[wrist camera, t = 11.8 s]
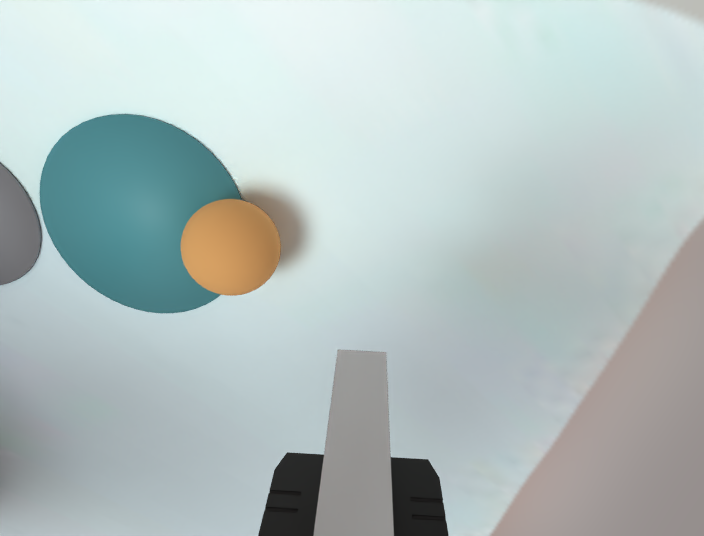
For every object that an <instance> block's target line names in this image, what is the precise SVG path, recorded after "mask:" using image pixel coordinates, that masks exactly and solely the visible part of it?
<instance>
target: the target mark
mask: <svg viewBox="0 0 704 536" xmlns="http://www.w3.org/2000/svg"><path fill="white" fill-rule="evenodd" d="M223 199H238V200H242V199H241V197H240V195H239V192H238V190H237V187H236V186H235V184H234V182H233V180H232V179H231V177H230V175H229V174H228V172H227V171H226V170H225V168H224V167H223V166H222V164H221V163H220V162H219V161H218V160H217V159H216V157H215V156H214V155H213V154H212V153H211V152H210V151H209V150H208V149H206V148H205V147H204V146H203V145H202V144H201V143H199V142H198V141H197V140H196V139H194V138H193V137H191V136H190V135H188V134H187V133H185V132H183V131H182V130H180V129H178V128H176V127H174V126H172V125H170V124H167V123H164V122H162V121H159V120H156V119H153V118H148V117H144V116H139V115H129V114H119V115H108V116H102V117H97V118H94V119H91V120H88V121H85V122H83V123H81V124H79V125H78V126H76V127H74V128H72V129H71V130H70V131H68V132H67V133H66V134H65V135H64V136H62V137H61V139H60V140H59V141H58V142H57V143H56V144H55V145H54V147H53V148H52V150H51V152H50V154H49V155H48V157H47V159H46V162H45V165H44V167H43V171H42V175H41V180H40V204H41V210H42V215H43V219H44V222H45V225H46V228H47V231H48V233H49V235H50V237H51V239H52V241H53V244H54V245H55V247H56V249H57V250H58V252H59V253H60V255H61V256H62V258H63V259H64V260H65V261H66V263H67V264H68V265H69V267H70V268H71V269H72V270H73V271H74V272H75V273H76V274H77V275H78V276H79V277H80V278H81V279H82V280H84V281H85V282H86V283H87V284H88V285H89V286H91V287H92V288H94V289H95V290H97V291H98V292H99V293H101V294H103V295H104V296H106V297H108V298H110V299H111V300H113V301H116V302H118V303H120V304H123V305H125V306H128V307H131V308H134V309H138V310H142V311H147V312H154V313H177V312H185V311H189V310H192V309H196V308H198V307H201V306H203V305H206V304H207V303H209V302H211V301H213V300H214V299H216V298H217V297H218V296H219V295H221V294H217V293H214V292H212V291H209V290H207V289H205V288H204V287H202V286H201V285H199V284H198V283H197V282H196V281H195V280H194V279H193V278H192V277H191V275H190V274H189V273H188V271H187V269H186V267H185V265H184V263H183V260H182V255H181V238H182V234H183V230H184V228H185V226H186V224H187V222H188V221H189V219H190V218H191V217H192V215H193V214H194V213H195V212H197V211H198V210H199V209H200V208H202V207H203V206H205V205H207V204H209V203H211V202H214V201H218V200H223Z"/></svg>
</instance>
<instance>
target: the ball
mask: <svg viewBox="0 0 704 536" xmlns="http://www.w3.org/2000/svg"><path fill="white" fill-rule="evenodd" d="M280 252H281V243H280V237H279V234H278V231H277V228H276V226H275V224H274V223H273V221H272V220H271V219H270V217H269V216H268V215H267V214H266V213H265V212H264V211H263V210H261V209H260V208H259V207H257V206H255V205H254V204H251V203H249V202H246V201H242V200H238V199H223V200H218V201H214V202H211V203H209V204H207V205H205V206H203V207H202V208H200V209H199V210H198V211H197V212H195V213H194V214H193V215H192V217H191V218H190V219H189V221H188V222H187V224H186V226H185V228H184V230H183V234H182V238H181V255H182V260H183V263H184V265H185V267H186V269H187V271H188V273H189V274H190V275H191V277H192V278H193V279H194V280H195V281H196V282H197V283H198V284H199V285H201V286H202V287H204V288H205V289H207V290H209V291H212V292H214V293H217V294H221V295H241V294H246V293H249V292H251V291H253V290H255V289H257V288H259V287H260V286H262V285H263V284H264V283H265V282H266V281H267V280H268V279H269V278H270V277H271V276H272V274H273V273H274V271H275V269H276V267H277V265H278V262H279V259H280Z"/></svg>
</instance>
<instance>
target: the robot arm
mask: <svg viewBox="0 0 704 536" xmlns="http://www.w3.org/2000/svg"><path fill="white" fill-rule="evenodd" d="M258 536H448V530H447V523H446V520H445V511H444V504H443V498H442V492H441V486H440V479H439V477H438V475H437V473H436V472H435V470H434V468H433V467H432V465H431V464H430V462H429V460H427V459H410V458H393V457H391V456H390V432H389V408H388V384H387V360H386V352H373V351H354V350H338V352H337V359H336V367H335V375H334V382H333V390H332V398H331V405H330V413H329V421H328V428H327V436H326V443H325V451H324V455H320V454H303V453H287V454H286V455H285V456H284V458H283V459H282V460H281V462H280V463H279V465H278V466H277V467H276V469H275V471H274V475H273V479H272V483H271V487H270V493H269V495H268V499H267V503H266V508H265V511H264V515H263V519H262V523H261V527H260V531H259V535H258Z"/></svg>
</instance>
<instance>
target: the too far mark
mask: <svg viewBox="0 0 704 536" xmlns="http://www.w3.org/2000/svg"><path fill="white" fill-rule="evenodd" d="M40 246H41V230H40V225H39V220H38V217H37V214H36V211H35V208H34V206H33V204H32V202H31V200H30V198H29V197H28V195H27V193H26V192H25V190H24V189H23V187H22V186H21V185H20V183H19V182H18V181H17V179H16V178H15V177H14V176H13V175H12V174H11V173H10V172H9V171H8V170H7V169H6V168H5V167H4V166H3V165H2V164H0V285H3V284H7V283H10V282H12V281H14V280H17V279H18V278H20V277H22V276H23V275H24V274H26V273H27V272H28V271H29V270H30V269H31V268H32V266H33V265H34V263H35V262H36V259H37V257H38V255H39V251H40Z"/></svg>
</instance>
